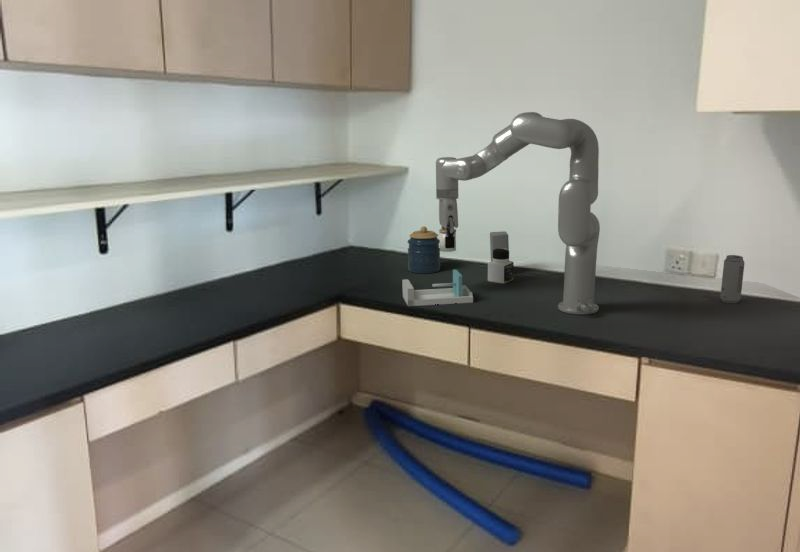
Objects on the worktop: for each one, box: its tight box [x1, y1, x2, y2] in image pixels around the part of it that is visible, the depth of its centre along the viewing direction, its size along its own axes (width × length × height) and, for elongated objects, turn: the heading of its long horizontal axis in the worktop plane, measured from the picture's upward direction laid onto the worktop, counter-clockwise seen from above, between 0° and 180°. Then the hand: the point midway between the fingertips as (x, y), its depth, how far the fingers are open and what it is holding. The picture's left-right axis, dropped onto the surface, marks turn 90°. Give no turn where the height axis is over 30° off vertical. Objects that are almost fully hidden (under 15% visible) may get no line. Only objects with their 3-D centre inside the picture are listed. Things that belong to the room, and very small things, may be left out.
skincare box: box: [489, 230, 510, 262], centre depth 267 cm, size 8×7×16 cm
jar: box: [438, 228, 457, 253], centre depth 238 cm, size 6×6×7 cm
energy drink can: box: [719, 254, 745, 304], centre depth 224 cm, size 6×6×15 cm
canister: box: [407, 225, 441, 274], centre depth 272 cm, size 13×13×18 cm
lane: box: [402, 278, 474, 307], centre depth 233 cm, size 12×22×6 cm, turn 98°
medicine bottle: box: [487, 248, 514, 284], centre depth 255 cm, size 7×7×12 cm
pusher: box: [431, 269, 463, 297], centre depth 233 cm, size 9×9×8 cm
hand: (447, 245), depth 238 cm, fingers closed on jar, 5 cm apart
